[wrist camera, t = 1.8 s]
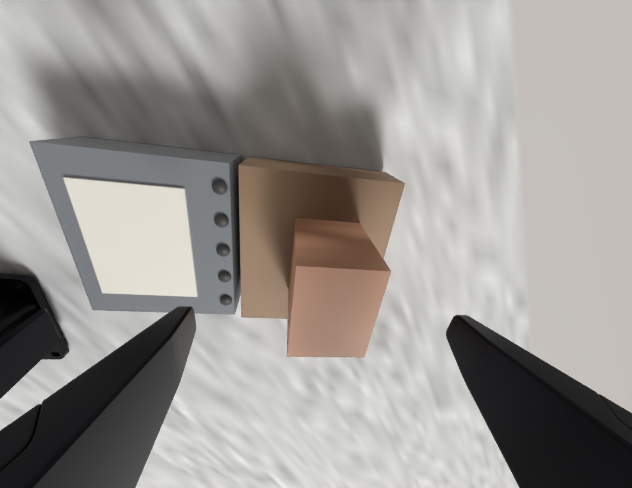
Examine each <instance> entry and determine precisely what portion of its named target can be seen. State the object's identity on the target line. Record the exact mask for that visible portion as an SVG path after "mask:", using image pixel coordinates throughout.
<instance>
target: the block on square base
mask: <svg viewBox="0 0 632 488" xmlns="http://www.w3.org/2000/svg"><path fill="white" fill-rule="evenodd" d="M238 167H239V218H240V269H241V317H248V318H282V319H288V332H287V357H365V354H366V350H367V347H368V344H369V341H370V337H371V334H372V331H373V328H374V325H375V321H376V318H377V315H378V312H379V309H380V305H381V302H382V299H383V296H384V293H385V289H386V286H387V283H388V280H389V276H390V273H391V271H390V269H389V267H388V266H387V264H386V263H385V261H384V260H383V258H384V255H385V251H386V248H387V244H388V241H389V237H390V234H391V230H392V227H393V223H394V220H395V216H396V213H397V209H398V206H399V202H400V199H401V195H402V192H403V188H404V185H405V183H403V182H401V181H400V180H398V179H396V178H395V177H393V176H391V175H389V174H388V173H386V172H379V171H371V170H362V169H353V168H344V167H336V166H327V165H318V164H309V163H301V162H292V161H283V160H275V159H266V158H257V157H247V158H246V159H245V160H244V161H243V162H242V163H241V164H239V165H238Z"/></svg>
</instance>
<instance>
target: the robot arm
mask: <svg viewBox="0 0 632 488" xmlns="http://www.w3.org/2000/svg"><path fill="white" fill-rule="evenodd" d="M195 331H196V322H195V314H194V309H193V307H191V306H178V307H176V308H175V309H173V310H172V311H170V312H169V313H168V314H166V315H165V316H163V317H162V318H160V319H159V320H158V321H156V322H155V323H153V324H152V325H150V326H149V327H148V328H146V329H145V330H143V331H142V332H141V333H139V334H138V335H136V336H135V337H133V338H132V339H131V340H129V341H128V342H126V343H125V344H123V345H122V346H121V347H119V348H118V349H116V350H115V351H113V352H112V353H111V354H109V355H108V356H106V357H105V358H104V359H102V360H101V361H99V362H98V363H96V364H95V365H94V366H92V367H91V368H89V369H88V370H86V371H85V372H84V373H82V374H81V375H79V376H78V377H77V378H75V379H74V380H72V381H71V382H69V383H68V384H67V385H65V386H64V387H62V388H61V389H59V390H58V391H57V392H55V393H54V394H52V395H51V396H49V397H48V398H47V399H45V400H44V401H43V402H42V405H41V404H38V405H36V406H35V407H34V408H32V409H31V410H29V411H28V412H27V413H25V414H24V415H22V416H21V417H19V418H18V419H17V420H15V421H14V422H12V423H11V424H9V425H8V426H6V427H5V428H3V429H2V430H0V488H135V487H136V485H137V482H138V480H139V478H140V475H141V473H142V471H143V468H144V466H145V464H146V461H147V459H148V457H149V454H150V452H151V449H152V447H153V445H154V442H155V440H156V438H157V435H158V433H159V431H160V428H161V426H162V424H163V421H164V419H165V417H166V414H167V412H168V409H169V407H170V405H171V402H172V400H173V398H174V395H175V393H176V391H177V388H178V386H179V383H180V380H181V377H182V374H183V371H184V368H185V365H186V361H187V358H188V355H189V351H190V348H191V345H192V342H193V338H194V335H195ZM446 337H447V340H448V342H449V345H450V347H451V350H452V352H453V355H454V357H455V359H456V362H457V364H458V367H459V369H460V372H461V374H462V376H463V379H464V381H465V383H466V385H467V387H468V389H469V391H470V393H471V395H472V397H473V398H474V400H475V402H476V404H477V406H478V408H479V410H480V412H481V414H482V416H483V418H484V420H485V422H486V424H487V426H488V428H489V430H490V431H491V433H492V435H493V437H494V439H495V441H496V443H497V445H498V447H499V449H500V451H501V453H502V455H503V457H504V459H505V461H506V463H507V464H508V466H509V468H510V470H511V472H512V474H513V476H514V478H515V480H516V482H517V484H518V486H519V488H632V413H630V412H629V411H627V410H625V409H624V408H622V407H620V406H618V405H617V404H615V403H614V402H612V401H610V400H608V399H607V398H605V397H603V396H602V395H599V394H597V393H596V392H595V391H593V390H592V389H590V388H588V387H587V386H585V385H583V384H582V383H580V382H578V381H576V380H575V379H573V378H571V377H569V376H568V375H566V374H565V373H563V372H561V371H560V370H558V369H556V368H555V367H553V366H551V365H550V364H548V363H546V362H544V361H543V360H541V359H540V358H538V357H536V356H535V355H533V354H531V353H530V352H528V351H526V350H524V349H523V348H521V347H519V346H518V345H516V344H514V343H513V342H511V341H509V340H508V339H506V338H504V337H503V336H501V335H499V334H498V333H496V332H494V331H493V330H491V329H489V328H488V327H486V326H484V325H483V324H481V323H479V322H477V321H476V320H474V319H472V318H471V317H469V316H467V315H455V316H454V317H453V319H452V321H451V323H450V325H449V327H448V329H447V331H446ZM68 352H69V348H68V346H67V344H66V342H65V340H64V338H63V336H62V334H61V332H60V330H59V328H58V325H57V323H56V321H55V319H54V317H53V315H52V313H51V311H50V309H49V307H48V305H47V302H46V300H45V298H44V296H43V294H42V292H41V290H40V288H39V286H38V284H37V282H36V281H35V280H34V279H33V278H32V277H29V276H26V275H11V274H0V399H1V398H2V397H3V396H4V395H5V394H6V393H7V392H8V391H9V390H10V389H11V388H12V387H13V386H14V385H15V384H16V383H17V382H18V381H19V380H20V379H21V378H22V377H24V376H25V375H26V374H27V373H28V372H29V371H30V370H31V369H32V368H33V367H34V366H35V365H36V364H37V363H38V362H39V361H40V360H41V359H62V358H64V357H65V356H66V355H67V353H68Z"/></svg>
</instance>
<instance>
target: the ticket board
mask: <svg viewBox="0 0 632 488" xmlns="http://www.w3.org/2000/svg"><path fill="white" fill-rule="evenodd" d="M29 142H30V145H31V148H32V150H33V153H34V156H35V158H36V161H37V163H38V166H39V169H40V171H41V174H42V177H43V179H44V182H45V185H46V187H47V190H48V193H49V195H50V198H51V201H52V203H53V206H54V209H55V211H56V214H57V217H58V219H59V222H60V225H61V227H62V230H63V233H64V235H65V238H66V240H67V243H68V246H69V248H70V251H71V254H72V256H73V259H74V262H75V264H76V267H77V270H78V272H79V275H80V278H81V280H82V283H83V286H84V288H85V291H86V294H87V296H88V299H89V302H90V304H91V307H92V309H93V310H106V311H139V312H170V311H172V310H173V309H175V308H176V307H178V306H191V307H193V309H194V313H204V314H235V311H236V308H237V305H238V301H239V298H240V294H241V269H240V218H239V167H238V165H239V164H241V155H237V154H228V153H219V152H210V151H202V150H193V149H184V148H176V147H167V146H158V145H150V144H141V143H132V142H124V141H115V140H106V139H97V138H89V137H73V138H62V139H50V140H38V141H29Z"/></svg>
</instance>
